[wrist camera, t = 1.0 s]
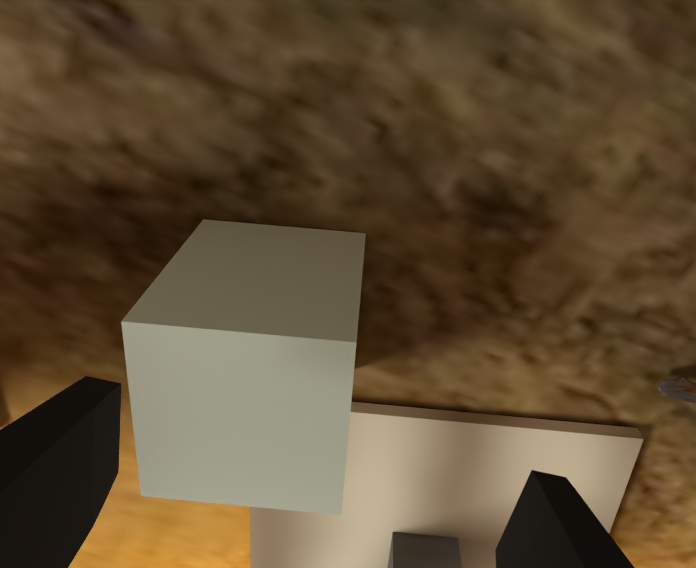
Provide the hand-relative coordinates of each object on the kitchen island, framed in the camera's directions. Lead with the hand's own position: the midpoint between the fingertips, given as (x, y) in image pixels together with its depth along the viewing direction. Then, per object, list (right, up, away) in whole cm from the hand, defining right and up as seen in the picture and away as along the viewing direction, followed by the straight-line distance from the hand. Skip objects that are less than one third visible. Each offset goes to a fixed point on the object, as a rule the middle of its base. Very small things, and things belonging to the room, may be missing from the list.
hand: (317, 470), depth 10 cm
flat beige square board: (+4, -8, +14) cm, 17 cm away
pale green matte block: (-2, +3, +10) cm, 10 cm away
